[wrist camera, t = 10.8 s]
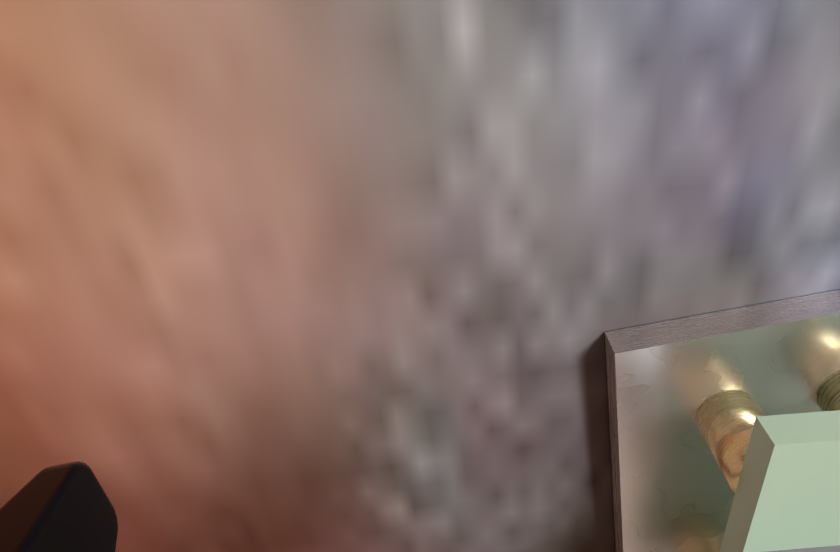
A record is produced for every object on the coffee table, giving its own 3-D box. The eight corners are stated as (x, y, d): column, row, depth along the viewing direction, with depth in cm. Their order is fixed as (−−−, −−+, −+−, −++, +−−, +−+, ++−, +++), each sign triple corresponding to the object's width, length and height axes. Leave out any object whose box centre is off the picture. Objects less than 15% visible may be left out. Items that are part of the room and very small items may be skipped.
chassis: (879, 575, 29) (939, 663, 26) (619, 619, 29) (649, 711, 26) (955, 268, 21) (1050, 343, 19) (604, 332, 22) (644, 415, 19)
